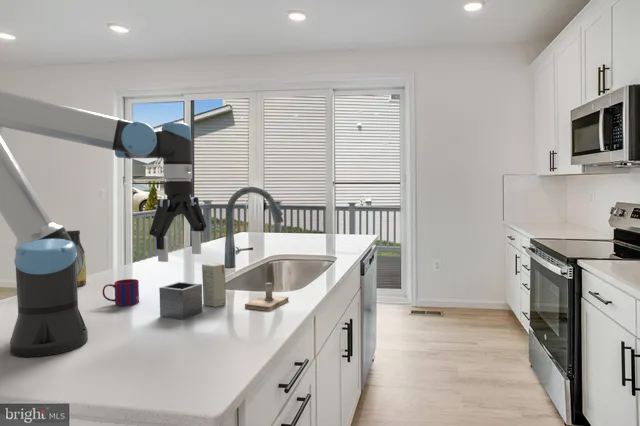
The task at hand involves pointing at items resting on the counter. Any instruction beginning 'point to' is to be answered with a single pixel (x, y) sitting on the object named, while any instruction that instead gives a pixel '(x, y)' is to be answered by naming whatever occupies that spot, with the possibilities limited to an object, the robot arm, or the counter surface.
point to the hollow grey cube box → (180, 300)
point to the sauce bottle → (76, 239)
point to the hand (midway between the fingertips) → (180, 257)
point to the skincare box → (214, 284)
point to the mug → (125, 292)
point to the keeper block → (267, 300)
